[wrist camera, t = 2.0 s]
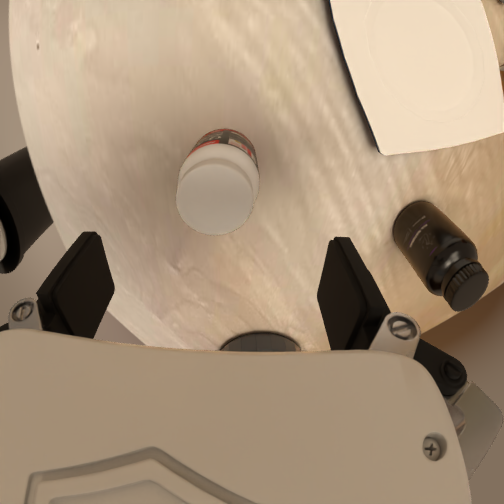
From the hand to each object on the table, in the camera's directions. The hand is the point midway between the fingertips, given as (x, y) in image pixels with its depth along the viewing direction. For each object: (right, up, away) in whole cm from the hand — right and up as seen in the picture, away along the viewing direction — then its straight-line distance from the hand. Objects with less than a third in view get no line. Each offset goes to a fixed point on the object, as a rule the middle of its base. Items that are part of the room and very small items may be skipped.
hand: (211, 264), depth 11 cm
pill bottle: (-1, +9, +14) cm, 17 cm away
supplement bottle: (+21, +4, +18) cm, 28 cm away
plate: (+19, +20, +7) cm, 29 cm away
